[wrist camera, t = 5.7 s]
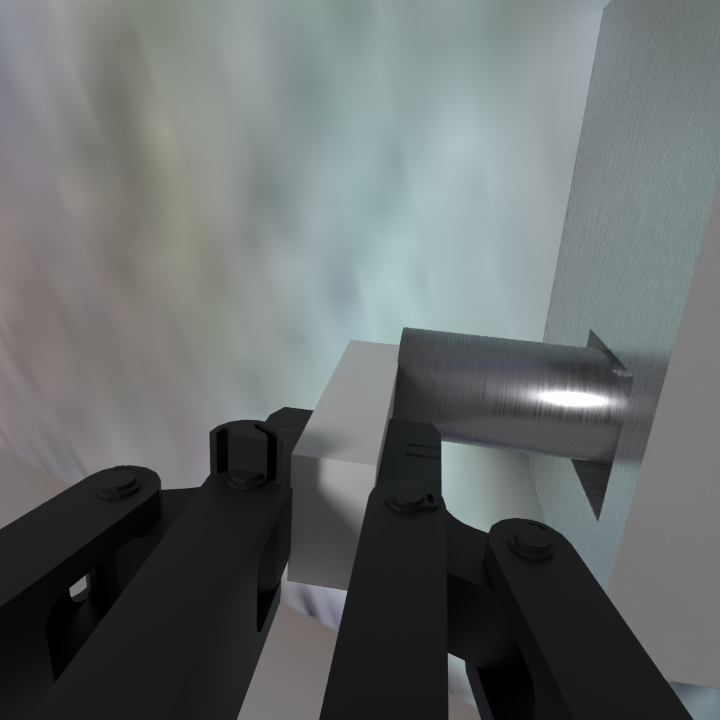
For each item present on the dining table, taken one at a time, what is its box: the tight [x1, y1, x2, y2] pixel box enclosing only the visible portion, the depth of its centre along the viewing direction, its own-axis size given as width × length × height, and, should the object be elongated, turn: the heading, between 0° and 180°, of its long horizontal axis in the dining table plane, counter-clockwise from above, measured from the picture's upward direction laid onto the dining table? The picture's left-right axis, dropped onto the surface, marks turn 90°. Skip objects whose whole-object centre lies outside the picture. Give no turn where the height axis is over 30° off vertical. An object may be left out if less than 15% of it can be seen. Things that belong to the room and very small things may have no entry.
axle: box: [392, 327, 634, 464], centre depth 14 cm, size 16×3×3 cm, turn 86°
